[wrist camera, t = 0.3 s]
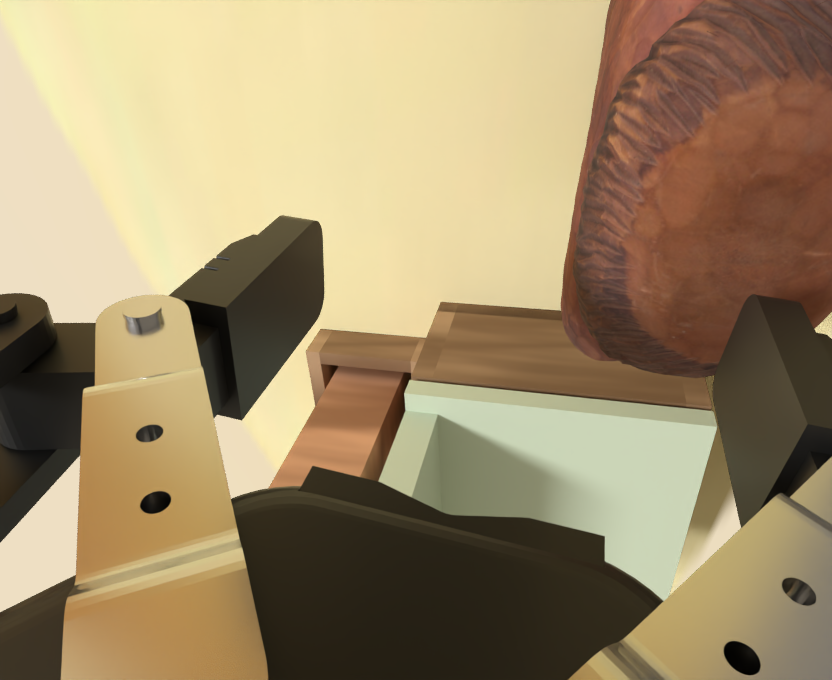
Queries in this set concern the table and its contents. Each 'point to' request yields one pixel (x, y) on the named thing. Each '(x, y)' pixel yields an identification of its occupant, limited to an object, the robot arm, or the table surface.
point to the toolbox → (500, 358)
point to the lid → (559, 466)
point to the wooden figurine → (701, 179)
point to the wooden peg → (349, 426)
